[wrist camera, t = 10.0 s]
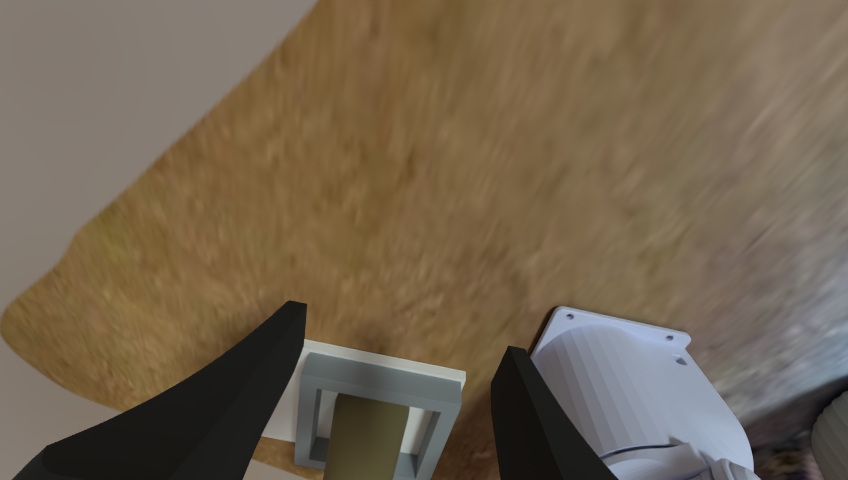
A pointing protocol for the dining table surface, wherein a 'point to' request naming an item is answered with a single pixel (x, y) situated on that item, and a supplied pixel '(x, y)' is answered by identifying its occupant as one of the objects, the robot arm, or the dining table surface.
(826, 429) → the canister
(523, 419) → the robot arm
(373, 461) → the olive knobbed tapered peg
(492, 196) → the dining table surface
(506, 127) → the dining table surface
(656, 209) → the dining table surface
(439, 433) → the socket board
